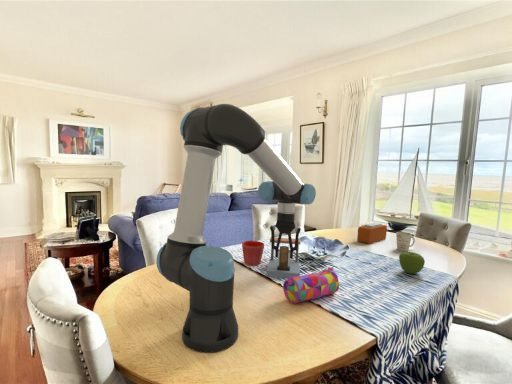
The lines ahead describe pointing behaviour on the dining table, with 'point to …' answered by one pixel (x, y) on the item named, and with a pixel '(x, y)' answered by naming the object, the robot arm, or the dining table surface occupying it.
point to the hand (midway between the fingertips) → (283, 264)
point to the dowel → (283, 258)
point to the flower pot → (252, 252)
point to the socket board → (292, 270)
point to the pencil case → (311, 286)
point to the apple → (411, 262)
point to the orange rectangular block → (371, 233)
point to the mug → (404, 241)
